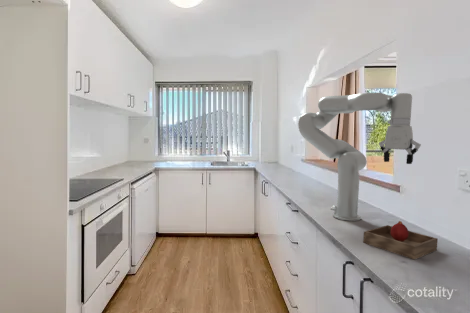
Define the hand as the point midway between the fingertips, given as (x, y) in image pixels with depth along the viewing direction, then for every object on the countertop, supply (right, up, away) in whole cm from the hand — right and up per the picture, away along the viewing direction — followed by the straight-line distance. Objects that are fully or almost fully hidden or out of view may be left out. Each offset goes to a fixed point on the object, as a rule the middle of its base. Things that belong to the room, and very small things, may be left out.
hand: (397, 162), depth 133 cm
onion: (-11, -29, -22) cm, 38 cm away
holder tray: (-11, -30, -22) cm, 38 cm away
